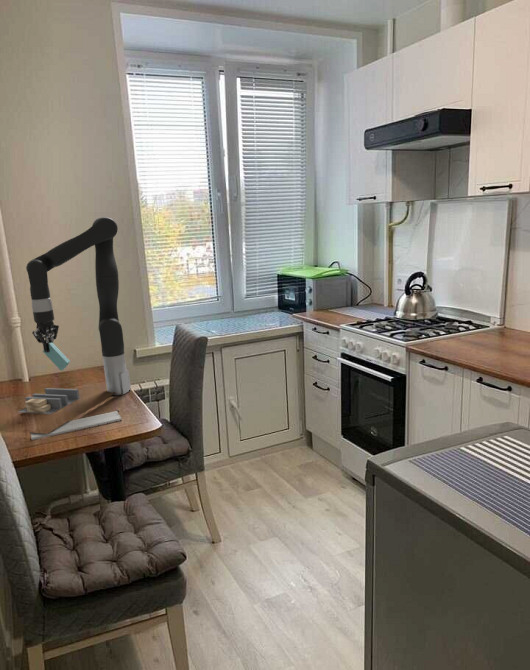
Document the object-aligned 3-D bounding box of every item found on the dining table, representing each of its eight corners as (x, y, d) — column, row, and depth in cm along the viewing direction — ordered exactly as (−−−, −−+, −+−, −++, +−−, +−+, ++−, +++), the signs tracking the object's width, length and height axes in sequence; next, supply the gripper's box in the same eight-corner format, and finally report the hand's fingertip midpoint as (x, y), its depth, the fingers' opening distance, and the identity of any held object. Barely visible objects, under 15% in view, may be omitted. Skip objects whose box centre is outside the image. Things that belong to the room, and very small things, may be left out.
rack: (80, 401, 214) (79, 388, 213) (51, 417, 197) (49, 404, 196) (49, 399, 219) (47, 387, 218) (17, 415, 201) (15, 402, 200)
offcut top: (47, 404, 202) (46, 399, 202) (40, 407, 199) (39, 402, 198) (32, 403, 204) (31, 398, 204) (25, 406, 201) (24, 402, 200)
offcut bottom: (50, 409, 202) (50, 404, 202) (44, 412, 199) (43, 407, 198) (34, 408, 205) (33, 403, 204) (27, 411, 201) (26, 406, 200)
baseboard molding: (30, 430, 187) (32, 442, 176) (29, 423, 186) (30, 434, 176) (116, 412, 200) (122, 422, 190) (115, 405, 199) (121, 414, 189)
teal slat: (70, 361, 207) (52, 342, 207) (67, 362, 205) (48, 343, 205) (64, 369, 208) (45, 350, 209) (60, 370, 206) (42, 351, 207)
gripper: (38, 312, 196) (45, 355, 200) (61, 306, 209) (67, 347, 213) (22, 312, 198) (29, 355, 202) (46, 306, 211) (52, 347, 215)
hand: (49, 351), depth 207 cm, fingers closed on teal slat, 1 cm apart
